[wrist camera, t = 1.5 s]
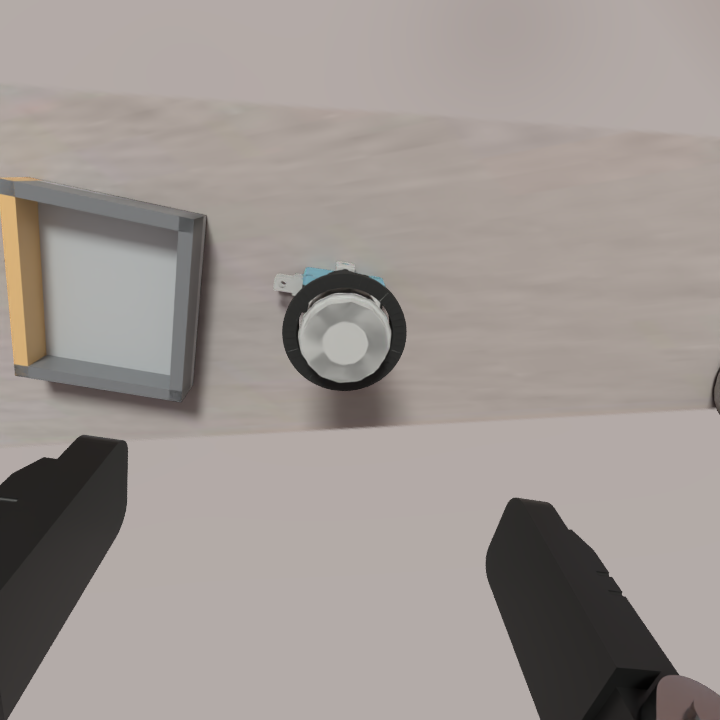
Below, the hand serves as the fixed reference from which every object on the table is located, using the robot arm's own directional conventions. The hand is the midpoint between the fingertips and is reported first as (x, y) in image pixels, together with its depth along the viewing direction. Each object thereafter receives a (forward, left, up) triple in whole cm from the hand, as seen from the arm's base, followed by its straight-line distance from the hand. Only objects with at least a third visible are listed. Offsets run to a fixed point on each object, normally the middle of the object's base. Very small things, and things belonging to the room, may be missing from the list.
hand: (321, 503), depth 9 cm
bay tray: (+12, +3, -20) cm, 23 cm away
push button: (0, 0, -20) cm, 20 cm away
